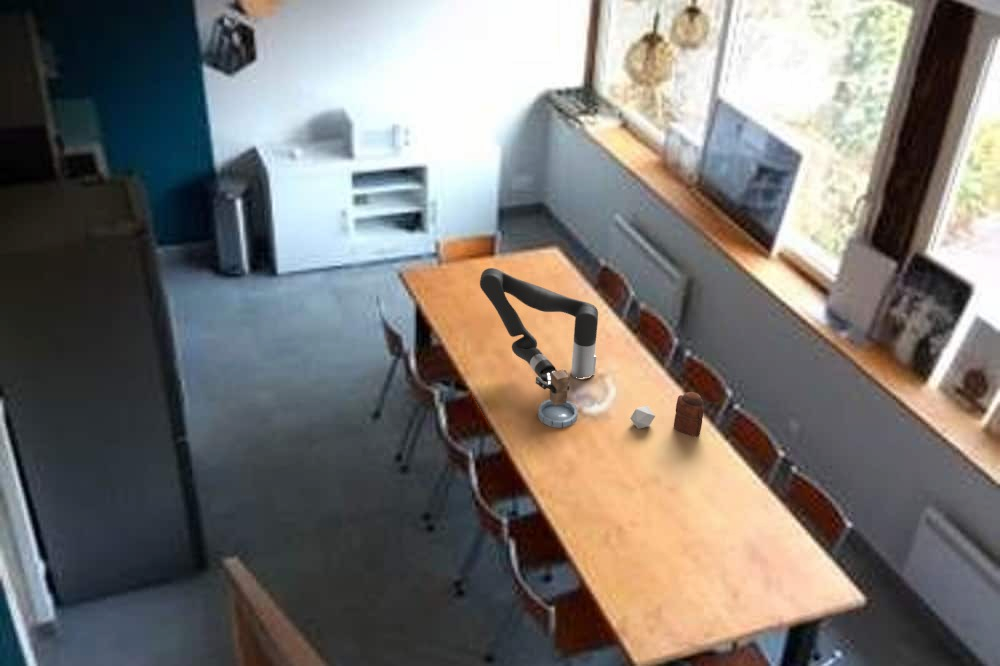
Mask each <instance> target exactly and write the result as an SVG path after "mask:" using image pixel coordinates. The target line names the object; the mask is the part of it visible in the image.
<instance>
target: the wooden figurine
mask: <svg viewBox="0 0 1000 666" xmlns="http://www.w3.org/2000/svg"><path fill="white" fill-rule="evenodd" d="M676 400H677V401H676V404H675V405H676V406H675V413H674V420H673V421H674V422H673V427H674V429H675V430H676V431H678V432H681V433H684V434H687V435H688V436H693V437H700V436H701V430H702V426H703V418H704V412H705V408H704V405H703V404H704V400H703V399H702V397H701V395H700V394H699V393H697V392H695V391H694V392H693V391H692V392H691V391H687V392H686V393H683V394H681V395H678V396H677V399H676Z"/></svg>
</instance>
